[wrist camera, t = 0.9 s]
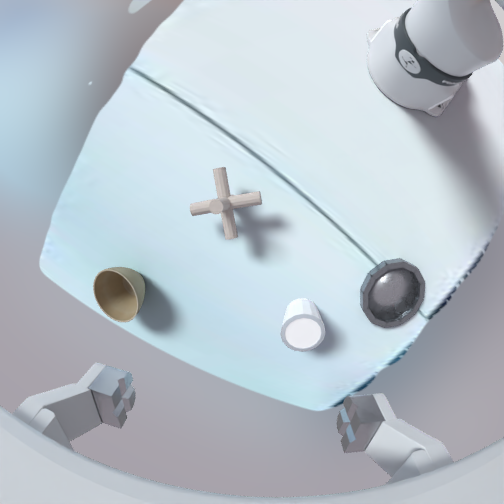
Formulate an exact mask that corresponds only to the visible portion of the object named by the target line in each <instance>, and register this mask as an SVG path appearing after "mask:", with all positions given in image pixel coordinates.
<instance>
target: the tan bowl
mask: <svg viewBox="0 0 504 504" xmlns="http://www.w3.org/2000/svg"><path fill="white" fill-rule="evenodd" d="M93 290H94V296H95V299H96V301H97V303H98V305H99V307H100V308H101V309H102V311H103V312H104V313H105V314H106V315H107V316H108V317H110V318H111V319H113V320H115V321H118V322H128V321H131V320H132V319H133V318H134V317H135V316H136V315H137V313H138V312H139V310H140V308H141V306H142V303H143V300H144V296H145V282H144V279H143V277H142V276H141V275H140V274H139V273H138V272H137V271H135V270H132V269H129V268H124V267H114V268H108V269H105V270H102V271H101V272H99V273H98V274H97V276H96V277H95V280H94V285H93Z"/></svg>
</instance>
